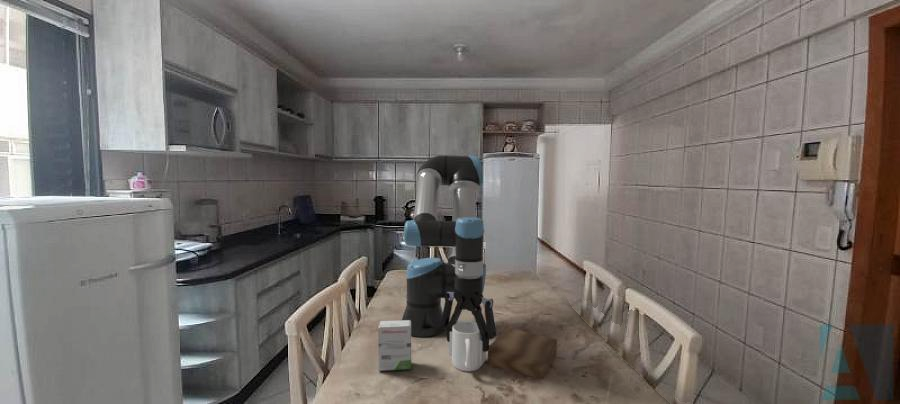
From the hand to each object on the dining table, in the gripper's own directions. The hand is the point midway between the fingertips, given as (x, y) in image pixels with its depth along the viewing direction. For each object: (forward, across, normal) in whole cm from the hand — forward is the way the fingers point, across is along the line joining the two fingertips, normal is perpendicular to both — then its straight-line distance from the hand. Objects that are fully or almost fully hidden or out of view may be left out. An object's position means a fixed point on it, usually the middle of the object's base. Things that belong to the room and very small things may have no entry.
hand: (467, 357), depth 95 cm
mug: (+2, +1, -2) cm, 3 cm away
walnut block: (+2, +12, +11) cm, 16 cm away
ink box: (+2, -16, -11) cm, 20 cm away
